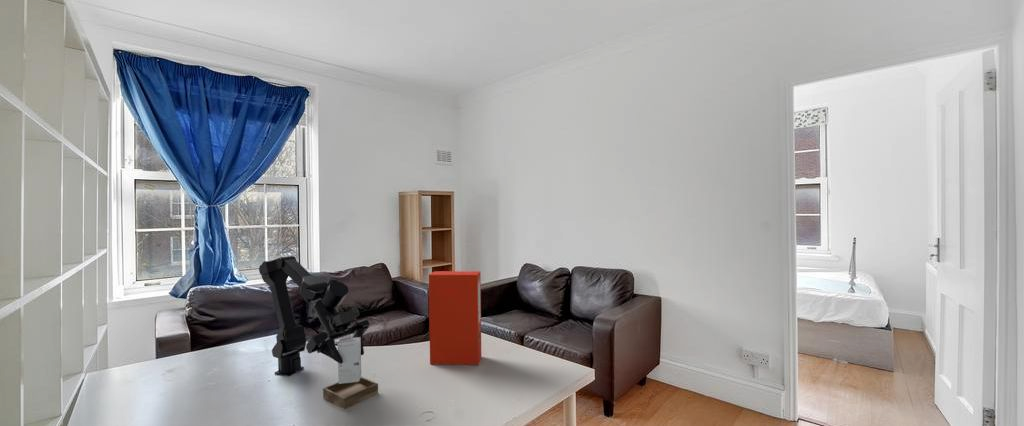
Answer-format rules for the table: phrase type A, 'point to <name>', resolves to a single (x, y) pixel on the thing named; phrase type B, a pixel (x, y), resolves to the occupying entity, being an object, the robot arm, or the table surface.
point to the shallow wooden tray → (350, 392)
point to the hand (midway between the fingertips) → (352, 358)
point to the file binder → (455, 317)
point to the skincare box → (349, 360)
